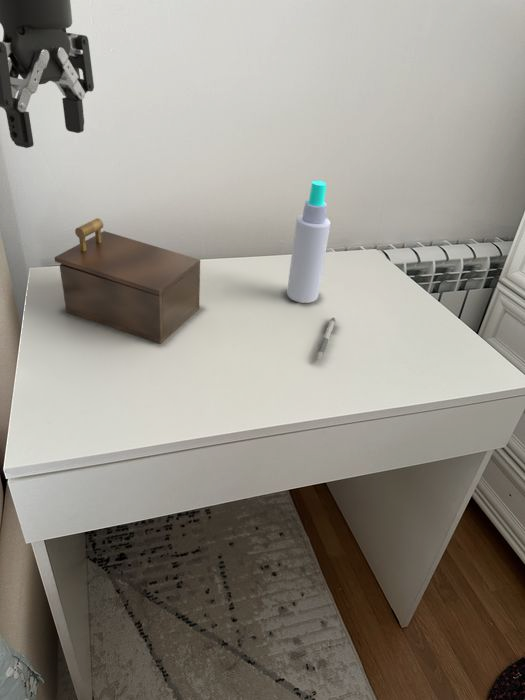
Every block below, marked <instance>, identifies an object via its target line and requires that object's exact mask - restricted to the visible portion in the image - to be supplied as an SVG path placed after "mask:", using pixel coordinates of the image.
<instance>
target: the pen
mask: <svg viewBox="0 0 525 700" xmlns="http://www.w3.org/2000/svg"><path fill="white" fill-rule="evenodd" d="M335 323H336V318H335V316H334V317H331V318H330V320H329V322H328V324H327V328H326V330H325V332H324V335H323V337H322V340H321V342H320V345H319V347H318V350H317V352H316V361H317V362H319V361H321V359H322V357H323V356H324V353H325V351H326V348H327V346H328V343H329V339H330V337H331V334H332V332H333V329H334V326H335Z"/></svg>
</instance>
